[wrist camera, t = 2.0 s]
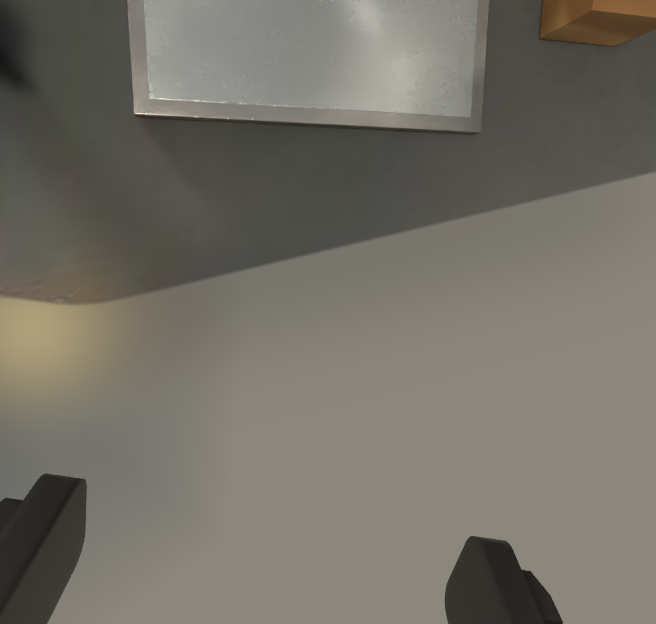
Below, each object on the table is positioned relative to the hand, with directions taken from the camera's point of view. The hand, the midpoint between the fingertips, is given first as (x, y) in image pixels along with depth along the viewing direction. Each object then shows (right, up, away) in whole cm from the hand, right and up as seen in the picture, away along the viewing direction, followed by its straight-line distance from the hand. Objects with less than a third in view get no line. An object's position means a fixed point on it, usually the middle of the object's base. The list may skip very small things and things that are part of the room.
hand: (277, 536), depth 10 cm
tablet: (0, +25, +20) cm, 32 cm away
